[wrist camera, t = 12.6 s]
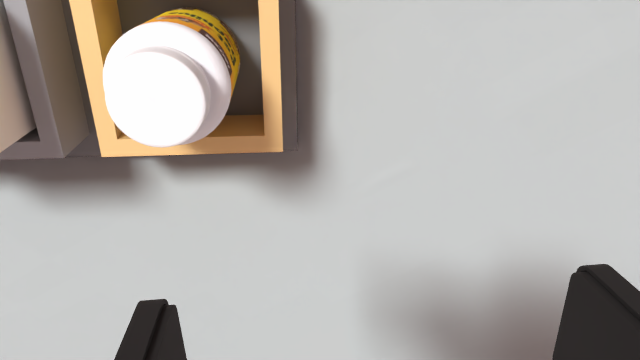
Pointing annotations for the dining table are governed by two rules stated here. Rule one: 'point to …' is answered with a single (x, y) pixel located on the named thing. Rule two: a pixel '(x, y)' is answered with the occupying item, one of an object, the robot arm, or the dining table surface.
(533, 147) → the dining table surface
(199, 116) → the supplement bottle
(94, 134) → the block sorting tray
